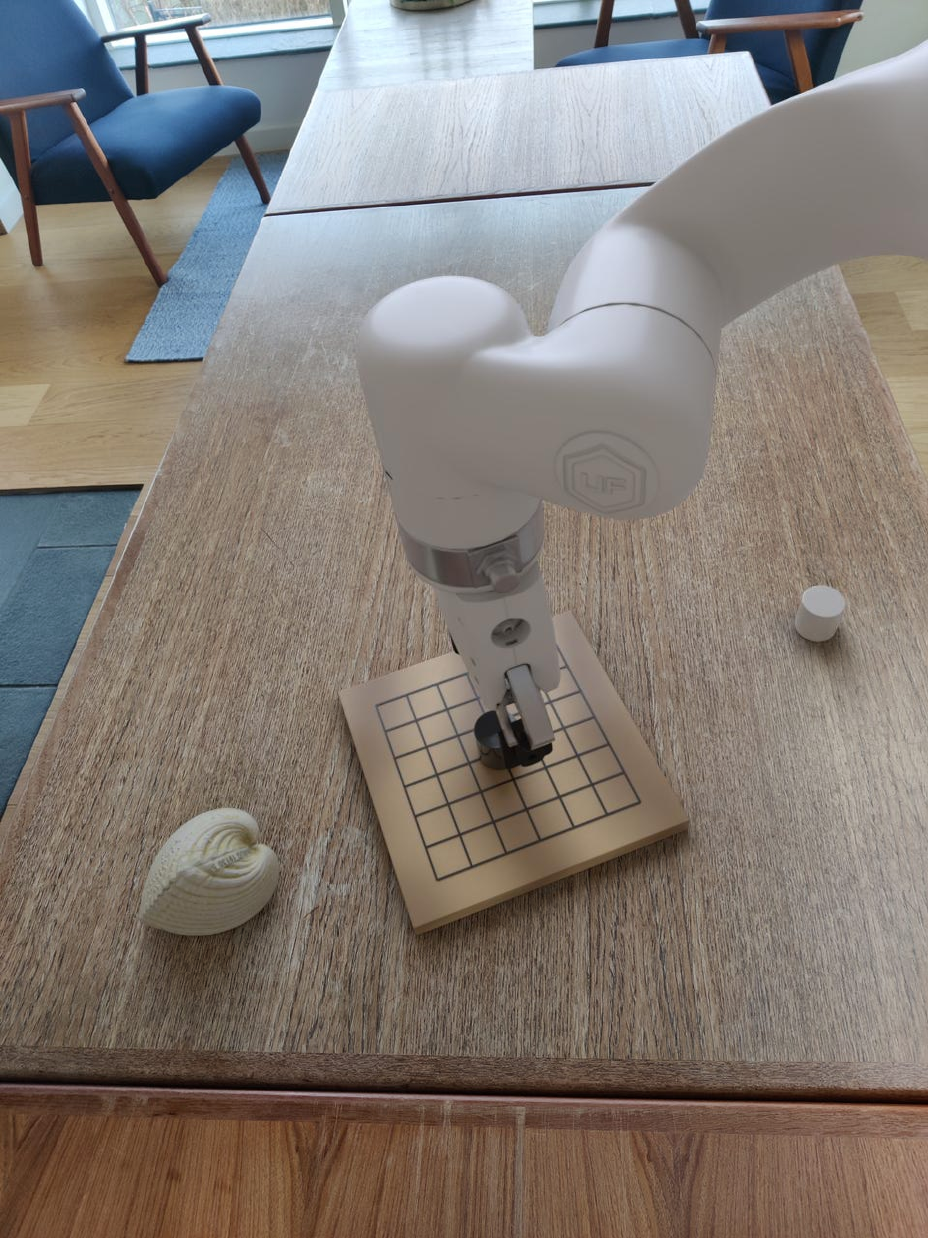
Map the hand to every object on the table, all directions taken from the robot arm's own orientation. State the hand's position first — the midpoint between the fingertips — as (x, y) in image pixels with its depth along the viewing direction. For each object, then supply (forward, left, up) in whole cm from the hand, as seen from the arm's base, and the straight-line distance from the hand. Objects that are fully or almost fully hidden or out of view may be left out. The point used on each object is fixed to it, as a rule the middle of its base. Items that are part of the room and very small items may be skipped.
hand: (500, 698), depth 59 cm
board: (0, 0, -9) cm, 9 cm away
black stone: (+1, 0, -7) cm, 7 cm away
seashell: (+22, +1, -9) cm, 24 cm away
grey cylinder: (-27, -2, -9) cm, 29 cm away
